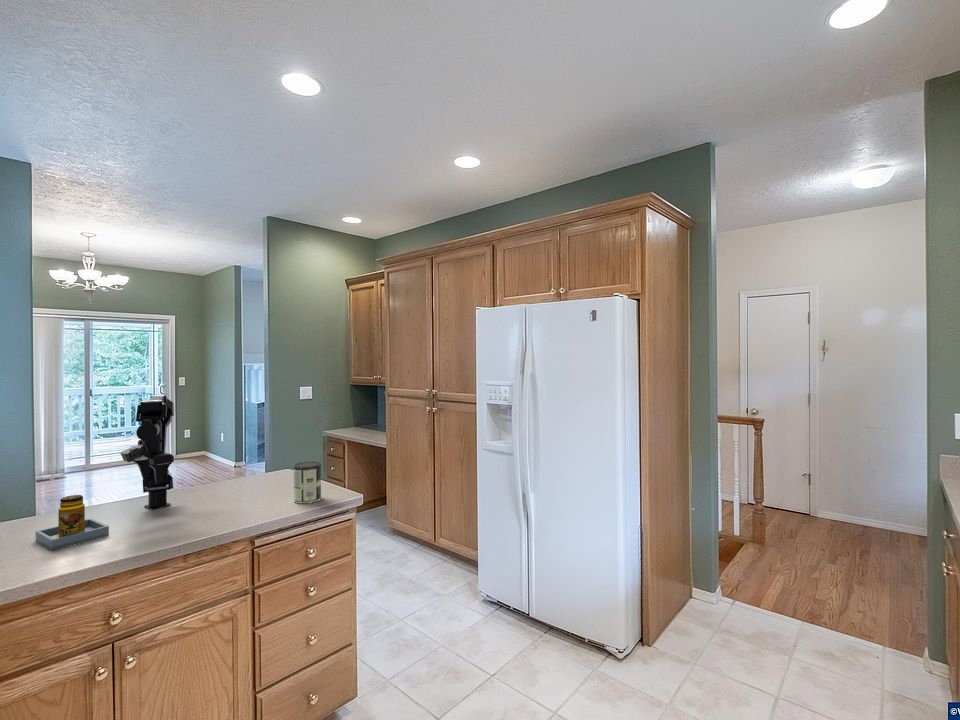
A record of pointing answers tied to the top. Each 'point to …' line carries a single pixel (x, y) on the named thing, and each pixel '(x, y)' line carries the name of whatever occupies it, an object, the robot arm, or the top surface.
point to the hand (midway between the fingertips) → (151, 481)
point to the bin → (91, 532)
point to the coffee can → (307, 482)
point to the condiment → (71, 516)
